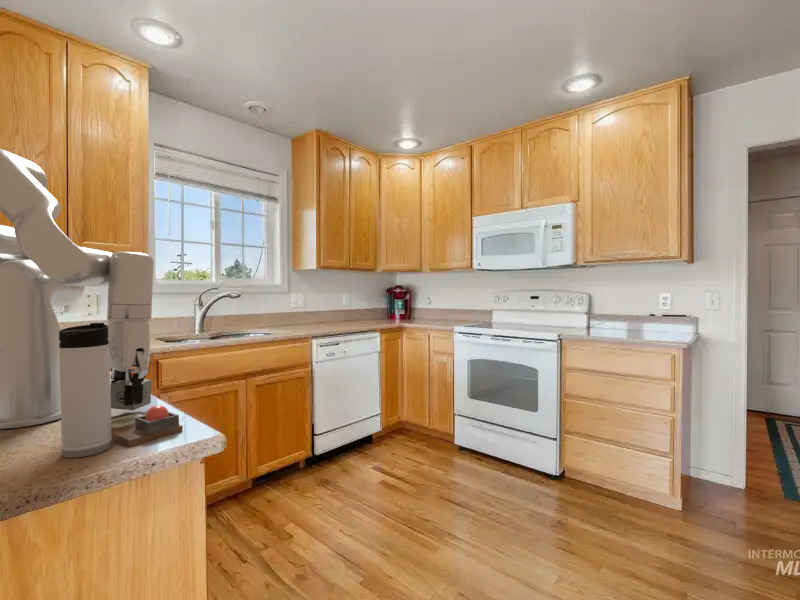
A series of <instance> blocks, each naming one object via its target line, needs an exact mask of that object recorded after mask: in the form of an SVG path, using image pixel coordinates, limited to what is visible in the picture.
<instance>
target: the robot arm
mask: <svg viewBox="0 0 800 600" xmlns="http://www.w3.org/2000/svg"><path fill="white" fill-rule="evenodd" d="M48 187H49V180H48V177H47V174H46V173H45V172H44V170H43V169H42V168H41V167H40V166H39V165H37V163H35V162H33V161H31V160H28V159H26V158H24V157H22V156H20V155H17V154H16V153H13V152H10V151H9V150H8V151H7V150H5V149H2V148H0V212H1V213H2V214H3V216H4V217H6V218H7V219H8V220H9V221H10V223H12V225H13V226H9V225H4V224H1V223H0V430H5V429H17V428H24V427H30V426H36V425H41V424H46V423H50V422H53V421H57V420H58V421H59V420H61V400H60V368H59V352H60V351H59V343H60V341H59V331H60V330H61V329H60V325H59V320H58V318H57V315H56V313H55V311H54V309H53V308H56V307H64V306H68V305H71V304H73V303H74V304H75V303H76V302H77V301H79V300H80V299H81V297H82V296H83V294H84V292H85V289H86V288H85V287H107V293H108V294H107V311H106V312H107V313H106V314H107V315H106V316H107V317H106V320H107V321H108V323H107V325H108V340H109V347H108V348H109V358H110V384H111V383H115V382H118V381H121V380H125V379H126V382H127V385H126V386H124V405H125V406H129V405H133V402H135V404H141V403H142V401H143V384H144V379H146V375H147V374H148V373H149V365H150V357H151V355H150V354H151V337H150V336H151V334H150V321H152V315H153V313H152V312H153V311H152V309H153V289H154V288H153V287H154V286H153V285H154V264H155V263H154V258H153V257H152V256H151V255H150V254H147V253H143V252H135V251H134V252H133V251H115V252H111V251H105V250H100V249H95V248H91V247H90V248H89V247H84V246H78V245H77V244H76V243H74V242H73V241H72V239H70V237H68V236H67V235H66V234H65V233H64V232H63V231H62V229H61V228H60V227H59V226H58V225H57V224H56V222H55V220H56V219H57V218H58V216H59V215H60V213H61V210H62V209H61V208H62V207H61V204H60V202H59V201H58V199H56V198H55V197H54V196H53V195H52V194H51V193H50V192H49V190H48ZM132 367H133V368H132ZM131 368H132V369H131ZM132 373H133V375H132Z"/></svg>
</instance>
